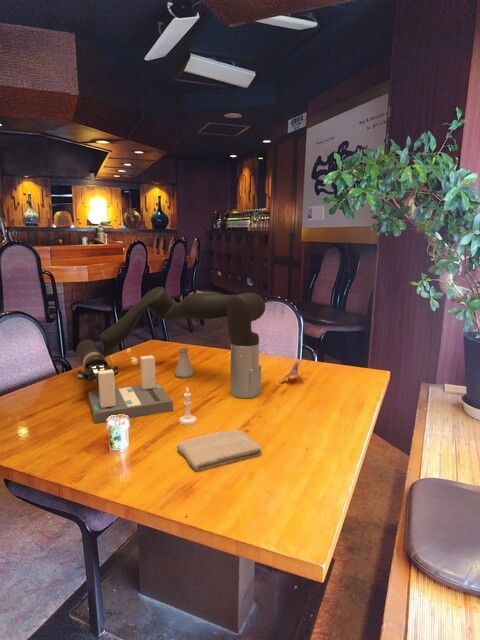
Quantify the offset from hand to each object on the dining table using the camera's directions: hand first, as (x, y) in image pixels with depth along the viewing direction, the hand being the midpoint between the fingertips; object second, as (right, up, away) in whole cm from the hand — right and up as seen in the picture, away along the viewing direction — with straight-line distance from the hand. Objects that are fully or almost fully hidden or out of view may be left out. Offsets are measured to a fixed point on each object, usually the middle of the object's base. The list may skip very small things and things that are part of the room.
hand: (101, 380), depth 129 cm
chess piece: (+27, -10, -8) cm, 30 cm away
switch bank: (+8, -8, +3) cm, 12 cm away
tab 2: (+12, -3, +10) cm, 16 cm away
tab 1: (+3, -6, -5) cm, 9 cm away
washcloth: (+37, -14, -25) cm, 47 cm away
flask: (+21, -3, +32) cm, 38 cm away
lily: (+61, -4, +25) cm, 66 cm away
